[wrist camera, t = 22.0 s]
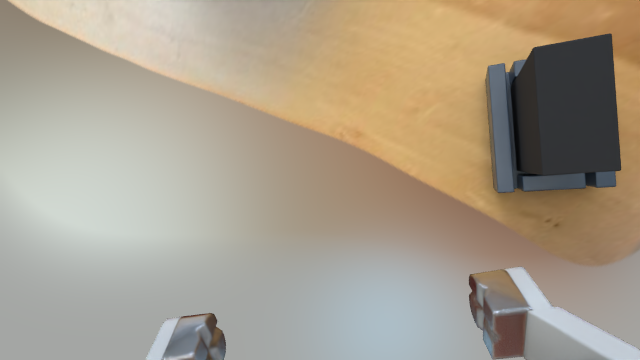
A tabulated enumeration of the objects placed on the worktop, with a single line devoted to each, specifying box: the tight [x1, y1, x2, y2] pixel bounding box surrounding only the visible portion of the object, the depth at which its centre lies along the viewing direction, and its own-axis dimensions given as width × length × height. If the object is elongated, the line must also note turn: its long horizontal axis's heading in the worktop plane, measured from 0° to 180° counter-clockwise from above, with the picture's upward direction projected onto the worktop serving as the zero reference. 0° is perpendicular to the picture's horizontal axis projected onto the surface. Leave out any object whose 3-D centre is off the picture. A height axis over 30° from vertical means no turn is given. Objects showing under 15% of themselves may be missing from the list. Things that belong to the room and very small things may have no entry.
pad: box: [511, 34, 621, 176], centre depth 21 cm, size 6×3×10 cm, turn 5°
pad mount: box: [485, 59, 616, 193], centre depth 25 cm, size 8×6×4 cm
